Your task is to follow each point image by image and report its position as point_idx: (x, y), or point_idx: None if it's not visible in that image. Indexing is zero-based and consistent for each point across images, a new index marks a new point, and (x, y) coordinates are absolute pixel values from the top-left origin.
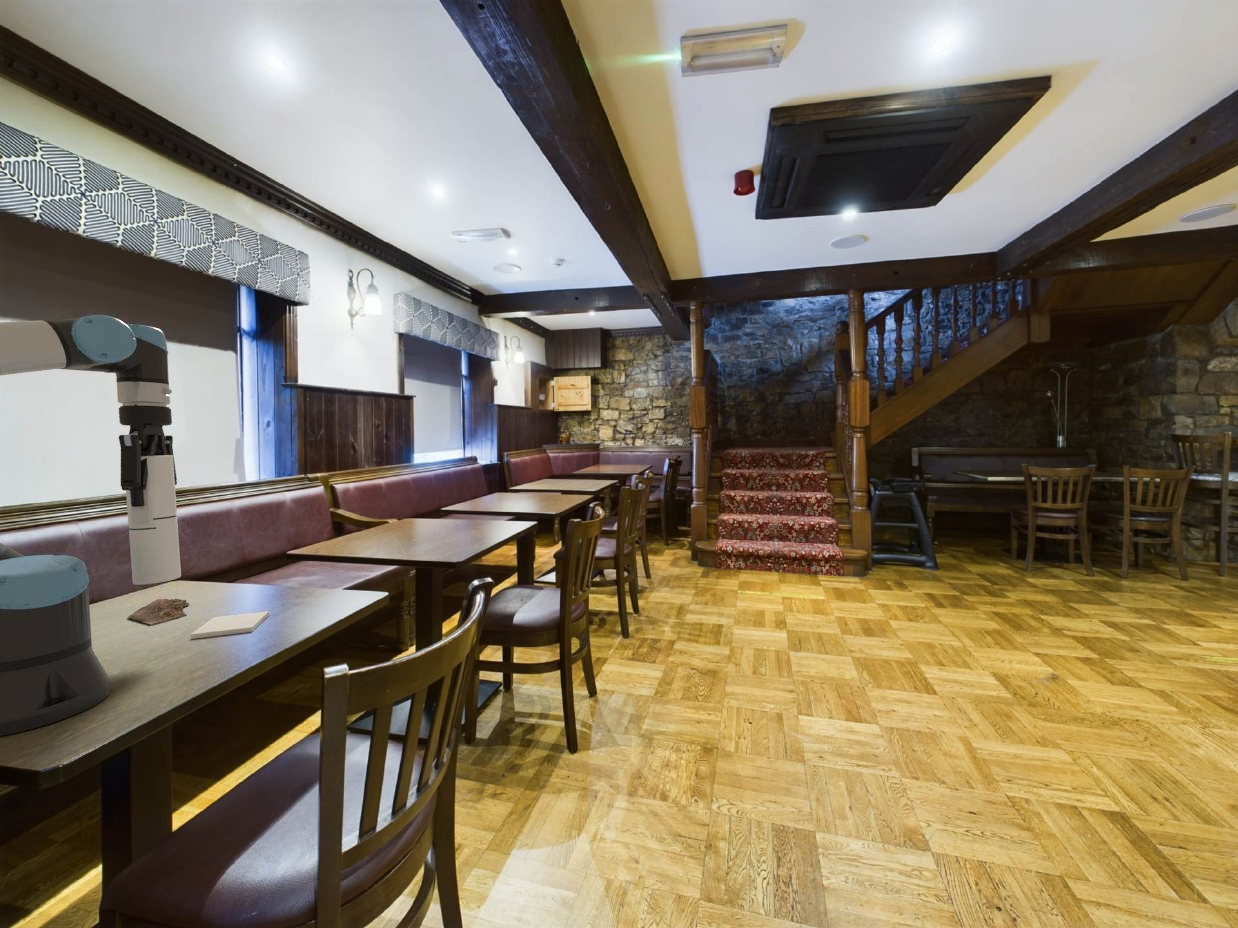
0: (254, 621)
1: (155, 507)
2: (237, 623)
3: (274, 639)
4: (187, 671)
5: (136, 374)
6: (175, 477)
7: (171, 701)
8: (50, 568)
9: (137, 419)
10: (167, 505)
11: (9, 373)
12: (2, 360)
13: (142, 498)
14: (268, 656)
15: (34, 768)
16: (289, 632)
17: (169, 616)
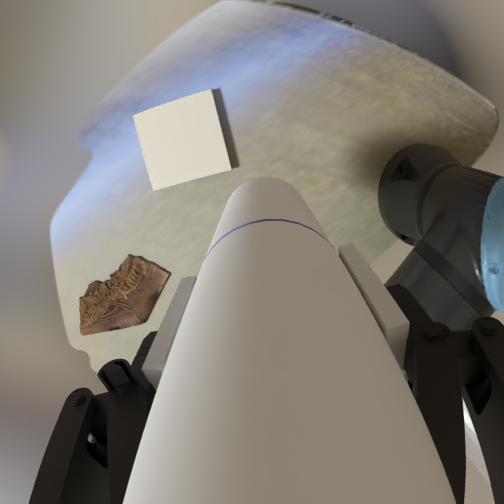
0: (182, 103)
1: (342, 264)
2: (188, 126)
3: (254, 38)
4: (357, 94)
5: None
6: (75, 403)
7: (426, 73)
8: None
9: None
10: (303, 241)
11: None
12: None
13: (402, 306)
14: (320, 18)
15: (496, 123)
16: (226, 32)
17: (140, 270)
